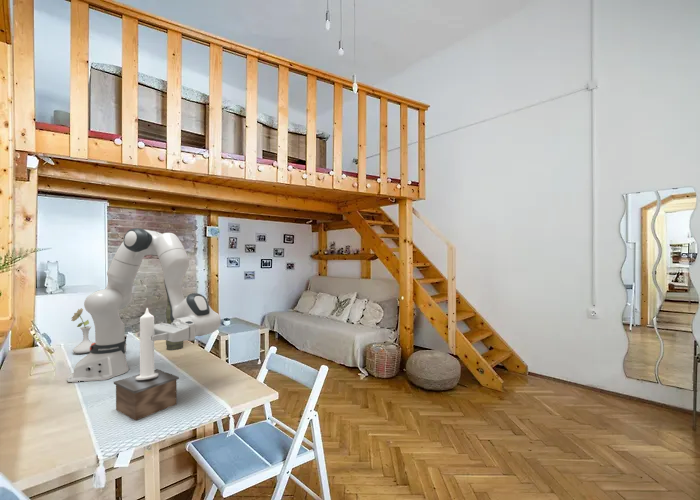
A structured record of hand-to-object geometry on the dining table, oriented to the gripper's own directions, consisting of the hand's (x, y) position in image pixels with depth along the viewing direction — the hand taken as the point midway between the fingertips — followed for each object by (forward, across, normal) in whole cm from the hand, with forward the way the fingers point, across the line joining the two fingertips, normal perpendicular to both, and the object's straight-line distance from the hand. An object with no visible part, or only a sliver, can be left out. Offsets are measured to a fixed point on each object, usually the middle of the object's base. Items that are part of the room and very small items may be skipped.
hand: (144, 336), depth 121 cm
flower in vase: (-15, -98, +26) cm, 102 cm away
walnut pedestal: (-1, 0, +26) cm, 26 cm away
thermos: (-47, -64, +26) cm, 83 cm away
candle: (-1, 0, +15) cm, 15 cm away
